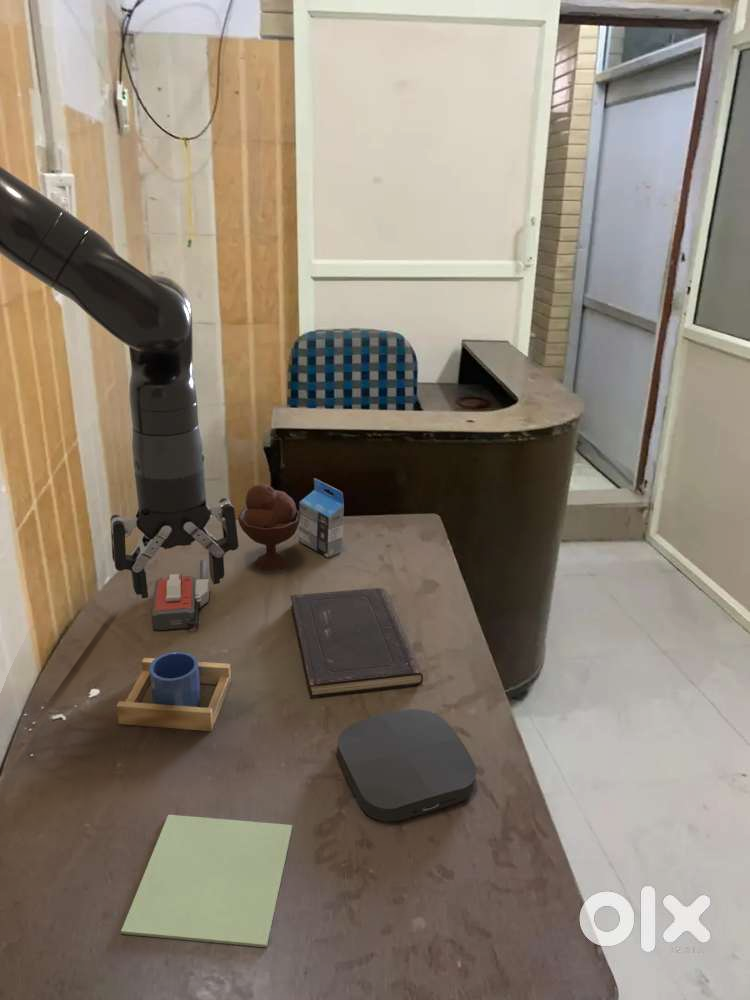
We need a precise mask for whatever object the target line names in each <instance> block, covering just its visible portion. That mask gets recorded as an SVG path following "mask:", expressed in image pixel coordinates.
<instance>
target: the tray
mask: <svg viewBox="0 0 750 1000" xmlns="http://www.w3.org/2000/svg"><path fill="white" fill-rule="evenodd" d="M155 659H156V657H155V658H154V657H143V659H142V660H141V667H142V671H141V673H140V675H139V677H137V680H136V682H135V683H134V684H133V687H132V689H131V691H130V692H129V694H128V696H127V698H126V699H125V700H123V701H121V700H119V701H118V702H117V704H116V706H115V707H116V714H117V721H118V724H119V725H125V726H138V727H139V726H140V727H152V728H153V727H154V728H165V729H176V730H188V731H189V730H190V731H191V730H192V731H204V732H212V731H213V729H214V726H215V724H216V721H217V719H218V716H219V713H220V710H221V709H222V705H223V703H224V700H225V698H226V695H227V693H228V691H229V688H230V685H231V683H232V673H231V671H232V670H231V663H224V662H223V663H222V662H221V663H220V662H207V661H198V667H199V680H200V685H215V688H214V692H213V694H212V696H211V698H210V701H209V703H208V706H207V707H202V706H198V707H190V706H177V705H164V704H153V703H150V702H149V703H148V702H141V701H142V699H143V697H144V695H145V694H146V692H147V690H148V688H149V686H150V685H151V681H150V672H149V666H150V665H151V663H152V661H153V660H155Z"/></svg>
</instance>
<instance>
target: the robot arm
mask: <svg viewBox="0 0 750 1000" xmlns="http://www.w3.org/2000/svg"><path fill="white" fill-rule="evenodd" d="M0 255H2V256H3V257H4V258H5V259H7V260H8V261H10V262H12V263H13V264H14V265H15V266H17V267H18V268H20V269H22V270H23V271H25V272H27V273H28V274H29V275H31V276H32V277H34V278H35V279H37V280H39V281H40V282H42V283H43V284H45V285H47V287H49V288H51V289H53V290H54V291H56V292H58V293H59V294H61V295H63V296H65V297H67V298H68V299H70V300H71V301H72V302H73V303H75V304H76V305H77V306H78V307H79V308H80V309H81V310H83V311H84V312H85V314H87V315H88V316H89V317H91V318H92V319H93V320H94V321H95V322H96V323H97V324H99V325H100V326H101V327H102V328H103V329H104V330H106V331H107V332H108V333H109V334H111V335H112V336H113V337H115V338H116V339H117V340H119V341H120V342H122V344H125V345H126V346H128V347H129V348H128V350H129V359H130V367H131V372H130V373H131V374H130V378H129V379H130V380H129V385H128V387H129V388H128V398H129V407H130V409H129V410H130V417H131V427H132V428H131V429H132V436H131V437H132V439H131V446H132V447H131V448H132V449H131V450H132V451H131V452H132V460H133V468H134V469H133V471H134V477H135V478H134V479H135V487H136V496H137V507H138V509H137V513H136V514H135V516H126V517H121V516H120V515H119V514H113V515H111V517H110V519H109V520H110V521H109V522H110V537H111V538H110V539H111V556H112V561H113V562H114V568H115V570H116V571H118V572H122V571H125V570H127V571H130V572H131V581H132V587H133V590H134V593H135V595H137V596H140V597H141V599H146V598H149V591H148V581H147V574H146V573H147V571H146V569H145V567H146V565H147V564H148V563H149V562H150V560H151V559H153V558H154V557H155V555H156V554H157V552H158V551H159V549H160V548H163V550H169V549H173V548H175V547H178V546H180V547H185V546H186V547H187V546H191V545H192V543H194V542H195V541H196V542H197V543H199V544H200V545H201V546H202V547H203V548H204V549H206V550H207V553H208V565H209V577H210V580H211V582H212V584H213V585H217V584H221V579H224V576H225V562H224V556H225V554H226V553H228V552H229V551H237V549H238V548H239V537H238V529H237V521H236V512H235V511H236V510H235V507H234V506H233V504H232V503H231V502H230V500H229V499H228V498H226V497H222V498H221V499H220V500H219V502H217V503H213V504H208V503H207V497H206V496H207V495H206V494H207V493H206V481H205V465H204V464H205V463H204V461H205V453H204V450H203V440H202V436H201V431H200V425H199V412H198V397H197V389H196V384H195V378H194V369H193V367H194V366H193V363H194V359H193V357H194V356H193V355H194V353H193V352H194V348H193V347H194V346H193V345H194V344H193V343H194V342H193V338H194V337H193V311H192V310H193V309H192V304H191V301H190V300H191V299H190V298H189V296H188V294H187V292H186V291H185V290H184V288H183V287H182V286H181V285H180V284H179V283H178V282H176V281H174V280H173V279H171V278H170V277H166V276H163V275H147V274H145V273H144V272H143V271H141V270H140V269H138V268H137V267H135V266H134V265H133V264H131V263H130V262H128V260H126V259H124V258H123V257H121V256H120V255H119V254H118V253H117V252H116V251H115V248H114V247H113V245H112V244H111V243H110V242H109V241H108V240H107V239H106V238H105V237H104V236H103V235H101V234H100V233H99V232H97V231H96V230H95V229H94V228H91V226H89V225H88V224H86V223H85V222H83V221H82V220H80V219H79V218H77V217H76V216H74V215H73V214H71V212H69V211H67V210H66V209H65V208H63V207H61V206H60V205H59V204H58V203H56V202H54V201H53V200H51V199H50V198H48V197H47V196H45V195H44V194H42V193H41V192H39V191H38V190H36V189H35V188H34V187H32V186H31V185H29V184H27V183H26V182H24V181H23V180H21V179H19V177H17V176H15V175H14V174H13V173H11V172H10V171H8V170H6V169H5V168H3V167H2V166H1V165H0ZM212 516H214V517H215V518H216V519H217V521H218V522H220V523H221V529H222V537H221V538H219V539H216V537H214V536H213V535H212V534H211V533H210V532H209V531H208V529H206V525H207V524H208V522H209V521H210V519H211V518H212ZM135 528H137V529H138V531H140V532H141V533H142V534H141V536H140V538H139V539H138V541H137V544H136V546H135V547H134V550H133V551H132V552H131V553H130V554H127V551H126V550H127V549H126V538H128V537H130V536H131V535H132V531H133V530H134V529H135Z"/></svg>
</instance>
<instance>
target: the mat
mask: <svg viewBox="0 0 750 1000" xmlns="http://www.w3.org/2000/svg"><path fill="white" fill-rule="evenodd" d="M292 832H293V825H292V824H282V823H273V822H272V823H271V822H260V821H248V820H238V819H224V818H214V817H200V816H190V815H179V814H178V815H176V814H167V817H166V819H165V821H164V824H163V827H162V829H161V832H160V834H159V835H158V838H157V842H156V844H155V846H154V849H153V851H152V854H151V856H150V859H149V861H148V863H147V866H146V868H145V871H144V873H143V876H142V878H141V880H140V883H139V886H138V888H137V890H136V893H135V895H134V897H133V900H132V903H131V905H130V908H129V910H128V912H127V915H126V917H125V920H124V922H123V925H122V927H121V930H120V934H121V935H130V936H140V937H150V938H161V939H162V938H163V939H173V940H184V941H194V942H205V943H214V944H215V943H217V944H226V945H227V944H228V945H237V946H247V947H258V948H259V947H260V948H267V947H268V943H269V939H270V935H271V930H272V925H273V920H274V916H275V910H276V907H277V902H278V896H279V893H280V887H281V883H282V879H283V873H284V869H285V865H286V859H287V855H288V850H289V845H290V841H291V837H292Z"/></svg>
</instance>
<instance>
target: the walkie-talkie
mask: <svg viewBox="0 0 750 1000" xmlns="http://www.w3.org/2000/svg"><path fill="white" fill-rule="evenodd" d="M210 587H211V586H210V580H209V578H207V560H206V559H201V560H200V561H199V578H198V579H196V577H195V576H192V575H182V573H173V574H167V576H166V577H165V576H163V577H160V578H158V579H156V580H155V581H154V586H153V590H154V591H153V601H152V607H151V622H152V628H153V629H154V630H156V631H166V630H167V631H169V630H180V629H181V630H182V629H191V628H194V627H196V626H197V625H198V619H199V617H198V615H199V609H200V608H202V607H203V606H204V605H206V604H207V603H208V602H209V601H210V600H209V599H210V597H209V595H210V593H209V592H210Z"/></svg>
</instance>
